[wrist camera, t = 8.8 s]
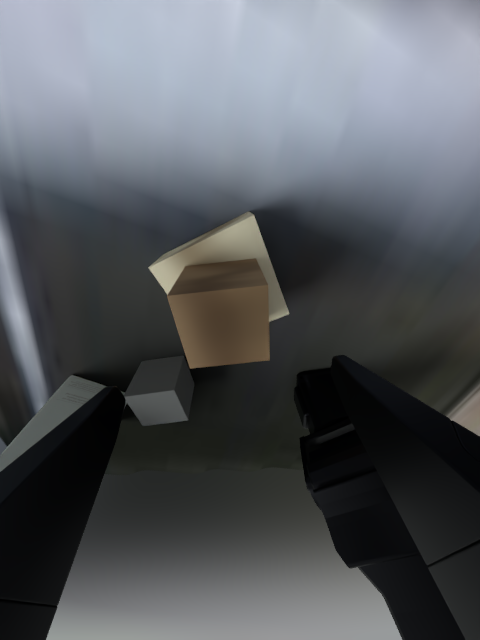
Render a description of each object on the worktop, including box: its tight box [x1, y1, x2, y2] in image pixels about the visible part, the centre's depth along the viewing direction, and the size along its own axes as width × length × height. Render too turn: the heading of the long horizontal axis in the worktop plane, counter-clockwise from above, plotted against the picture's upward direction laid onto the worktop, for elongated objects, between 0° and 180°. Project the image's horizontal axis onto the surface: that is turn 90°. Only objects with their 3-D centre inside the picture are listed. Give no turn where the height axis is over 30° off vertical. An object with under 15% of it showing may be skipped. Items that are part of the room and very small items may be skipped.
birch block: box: [149, 212, 289, 322], centre depth 17 cm, size 8×8×4 cm
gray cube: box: [124, 355, 195, 426], centre depth 22 cm, size 5×5×5 cm
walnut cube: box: [167, 258, 270, 369], centre depth 13 cm, size 5×5×5 cm
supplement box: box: [0, 375, 127, 472], centre depth 21 cm, size 7×7×13 cm
